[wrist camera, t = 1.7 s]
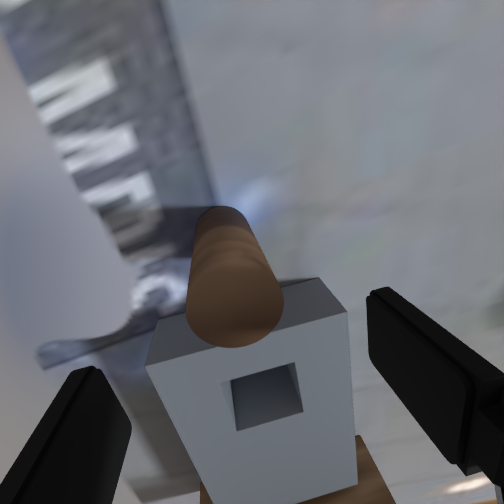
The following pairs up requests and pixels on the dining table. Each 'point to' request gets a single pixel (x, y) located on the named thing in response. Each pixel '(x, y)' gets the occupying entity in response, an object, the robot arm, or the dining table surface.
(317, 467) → the socket block
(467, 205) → the dining table surface
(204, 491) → the glass-topped wooden stand
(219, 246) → the peg
